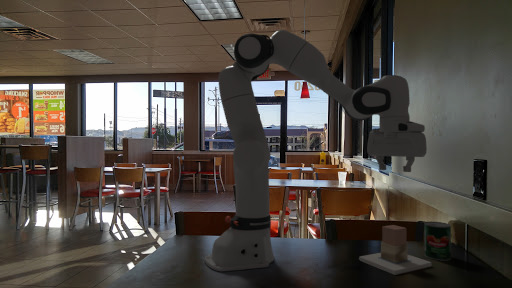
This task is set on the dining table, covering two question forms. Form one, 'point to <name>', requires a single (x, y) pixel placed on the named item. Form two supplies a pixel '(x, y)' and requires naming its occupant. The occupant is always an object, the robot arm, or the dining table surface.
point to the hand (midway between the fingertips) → (394, 171)
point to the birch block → (394, 252)
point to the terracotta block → (394, 235)
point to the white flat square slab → (392, 267)
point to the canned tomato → (437, 240)
